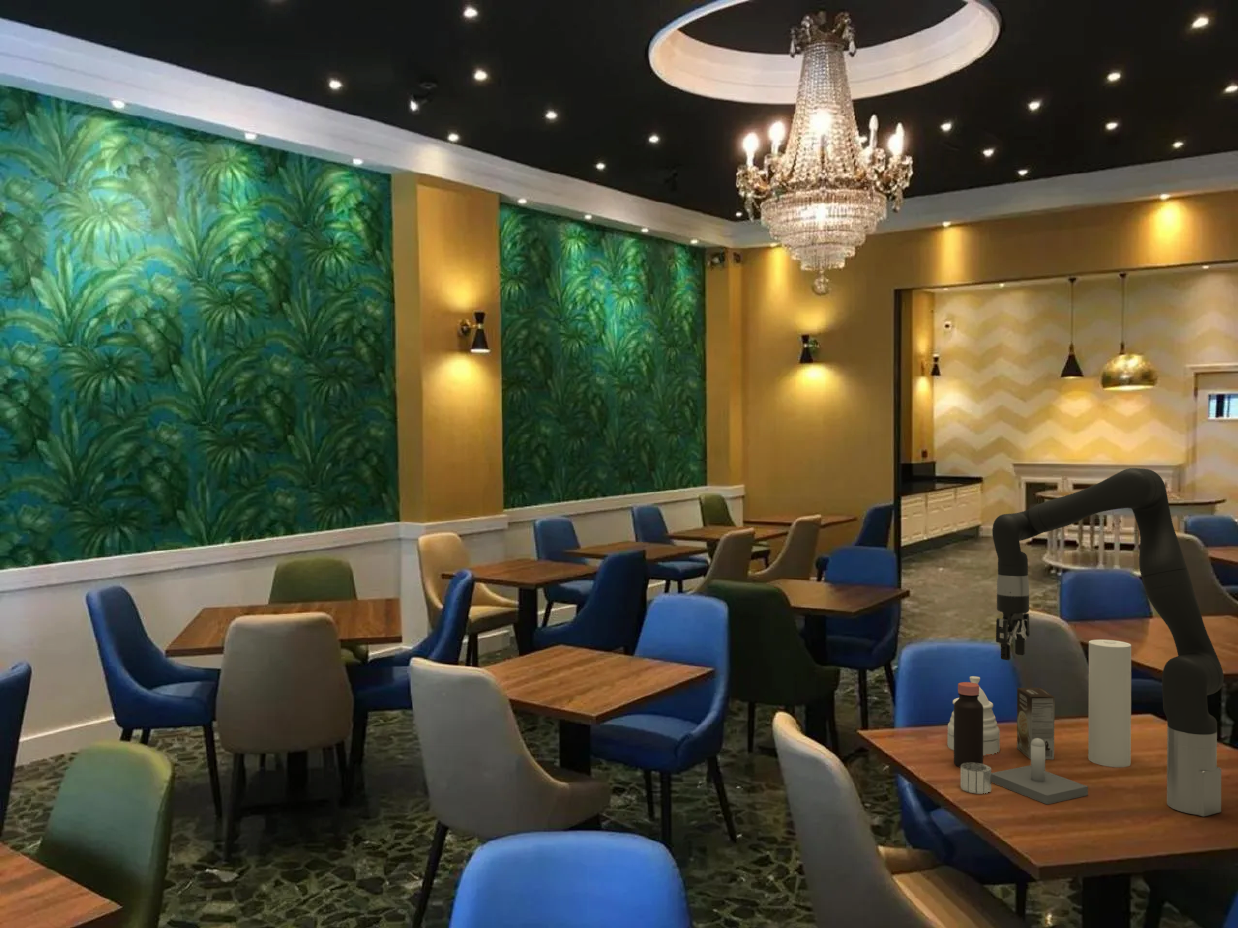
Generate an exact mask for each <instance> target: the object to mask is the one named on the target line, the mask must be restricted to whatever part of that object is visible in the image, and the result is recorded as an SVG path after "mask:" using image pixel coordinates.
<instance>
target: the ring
mask: <svg viewBox="0 0 1238 928" xmlns="http://www.w3.org/2000/svg"><path fill="white" fill-rule="evenodd" d="M991 773H992V767H991V766H990V765H987V764H984V763H983V764H980V763H963V764H962V765H961V767H960V789H961V790H963V791H964V792H966V793H970V794H977V795H981V794H982V795H985V793H986V794H989V793H988V792H990V793H991V791H992V782H991ZM983 793H984V794H983Z"/></svg>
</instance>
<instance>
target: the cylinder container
mask: <svg viewBox="0 0 1238 928" xmlns="http://www.w3.org/2000/svg"><path fill="white" fill-rule="evenodd" d="M1087 727H1088V736H1087V737H1088V738H1087V739H1088V743H1087V744H1088V745H1087V746H1088V752H1087V753H1088V755H1087V757H1088V760H1089V762H1092V763H1094V764H1095V765H1100V766H1103V767H1108V768H1109V767H1110V768H1127V767H1130V766H1131V762H1132V761H1131V757H1132V756H1131V755H1132V751H1131V748H1132V746H1131V745H1132V743H1131V742H1132V741H1131V739H1132V738H1131V737H1132V644H1131V643H1129V642H1125V641H1122V640H1116V639H1115V640H1113V639H1091V640H1089V641H1088V726H1087Z"/></svg>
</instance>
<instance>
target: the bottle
mask: <svg viewBox="0 0 1238 928" xmlns="http://www.w3.org/2000/svg"><path fill="white" fill-rule="evenodd" d="M979 687H980V685H979V683H978V684H976V683H971V681H970V682H969V681H963V682H959V683H957V693H958V694H957V695H958V698H959V699H958V700H957V701H956V702H955V703H954V704H953V711H954V750H953V763H954V765H955V766H956V767H959V768H961V765H962V764H963V763H980V764H984V755H983V705H982V704H981V703H980V702H979V700H978V696H979Z"/></svg>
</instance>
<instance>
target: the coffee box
mask: <svg viewBox="0 0 1238 928" xmlns="http://www.w3.org/2000/svg"><path fill="white" fill-rule="evenodd" d="M1016 689H1017V691H1016V700H1017V701H1016V704H1017V705H1016V749H1017V750H1019V752H1021V753H1022V754H1023V755H1025V756H1026V757H1027V758H1028V759H1029V760H1031V742H1032V740H1033V739H1035V738H1039V739H1042V740H1043V741H1044V743H1045V760H1054V759H1055V709H1056V707H1055V704H1056V703H1055V702H1056V701H1055V699H1056V698H1055V697H1056V696H1054V695H1053V694H1051V693H1050V692H1048V691H1047V690H1046V689H1043V688H1042V687H1017V688H1016Z"/></svg>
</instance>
